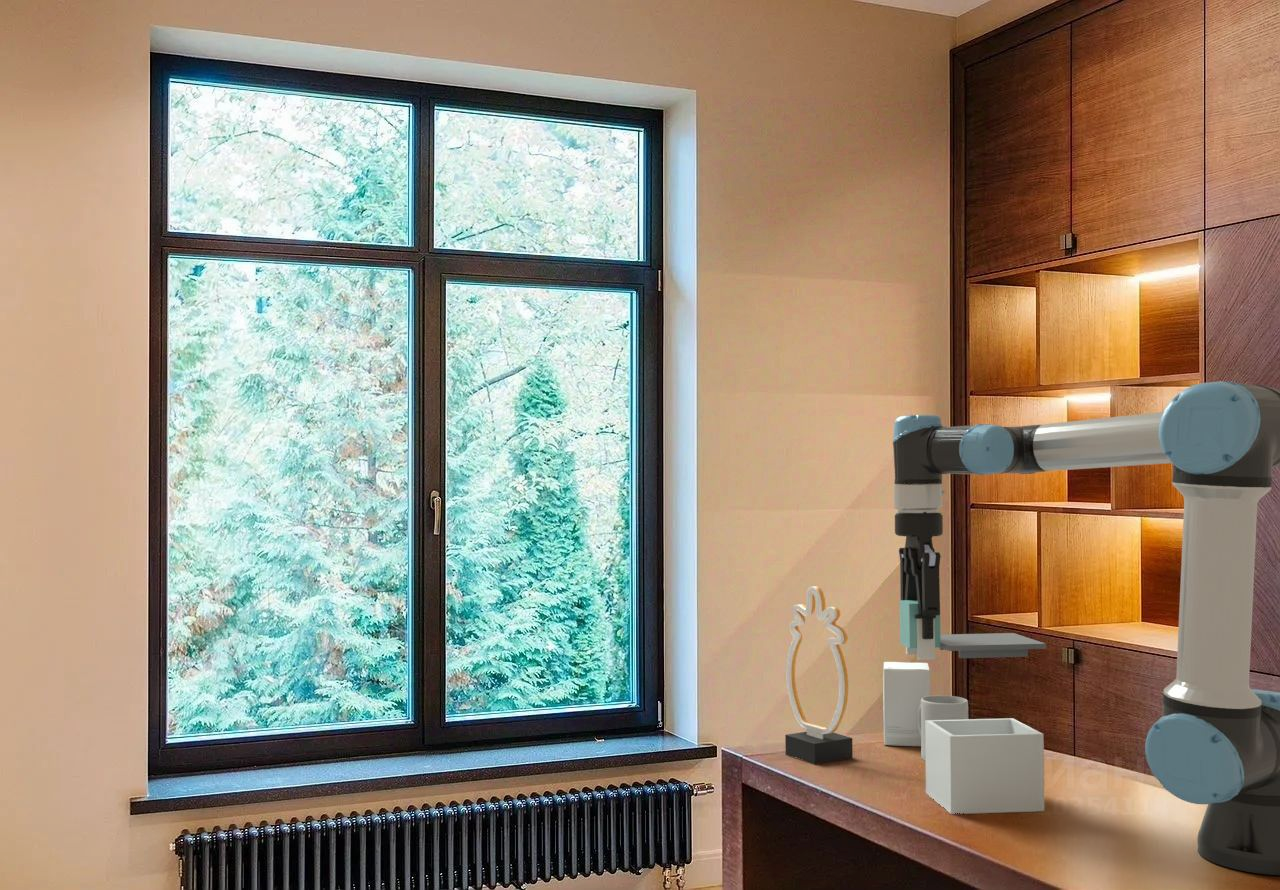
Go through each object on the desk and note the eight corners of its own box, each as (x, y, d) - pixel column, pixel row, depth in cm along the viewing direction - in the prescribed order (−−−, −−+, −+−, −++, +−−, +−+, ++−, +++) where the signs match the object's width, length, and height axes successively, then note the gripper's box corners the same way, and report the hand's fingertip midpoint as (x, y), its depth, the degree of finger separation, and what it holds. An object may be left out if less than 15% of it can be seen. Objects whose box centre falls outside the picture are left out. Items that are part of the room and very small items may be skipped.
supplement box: (931, 748, 233) (930, 669, 233) (883, 746, 234) (882, 668, 235) (929, 737, 242) (929, 662, 242) (883, 735, 243) (883, 660, 244)
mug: (978, 762, 221) (978, 701, 222) (940, 766, 218) (939, 705, 218) (938, 748, 232) (937, 690, 233) (900, 752, 229) (900, 694, 229)
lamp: (867, 762, 221) (865, 588, 222) (828, 769, 217) (827, 591, 217) (809, 744, 236) (808, 581, 236) (772, 750, 231) (771, 583, 232)
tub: (1044, 811, 190) (1043, 734, 190) (950, 814, 188) (950, 736, 189) (1013, 790, 202) (1013, 718, 202) (925, 793, 200) (925, 720, 201)
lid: (1046, 657, 190) (1045, 603, 190) (917, 660, 188) (916, 606, 188) (1014, 646, 202) (1013, 595, 203) (893, 648, 201) (892, 597, 201)
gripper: (960, 512, 186) (963, 665, 186) (923, 509, 204) (925, 648, 204) (913, 513, 186) (915, 666, 185) (879, 509, 204) (881, 649, 203)
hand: (920, 656), depth 194 cm, fingers closed on lid, 5 cm apart
